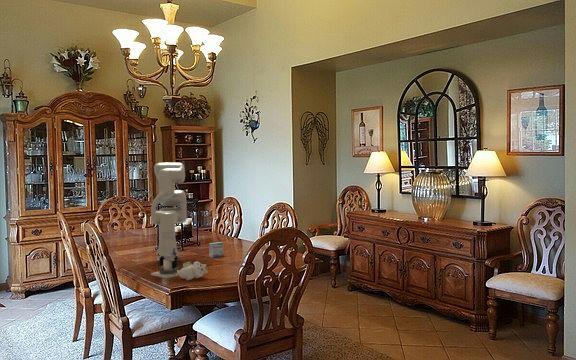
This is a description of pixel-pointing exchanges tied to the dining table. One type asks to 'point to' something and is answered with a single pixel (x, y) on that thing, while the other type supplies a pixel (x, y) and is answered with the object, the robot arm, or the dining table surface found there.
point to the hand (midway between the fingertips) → (168, 266)
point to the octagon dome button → (166, 273)
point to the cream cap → (167, 264)
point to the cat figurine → (192, 270)
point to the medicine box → (215, 249)
